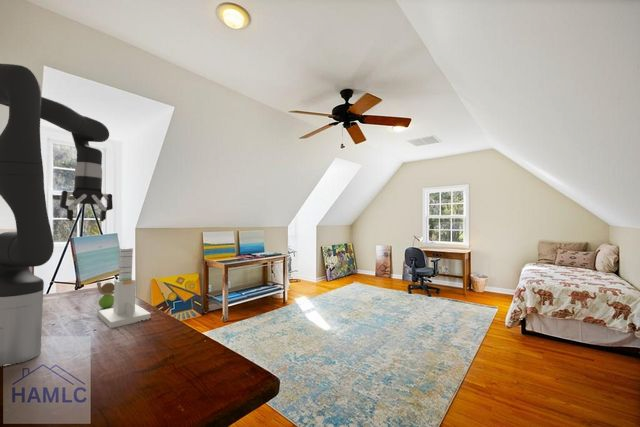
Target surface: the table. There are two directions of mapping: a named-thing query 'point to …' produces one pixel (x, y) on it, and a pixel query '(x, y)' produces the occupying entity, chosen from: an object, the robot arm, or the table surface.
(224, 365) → the table surface
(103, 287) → the snail figurine
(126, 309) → the grey stand
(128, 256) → the steel bar
